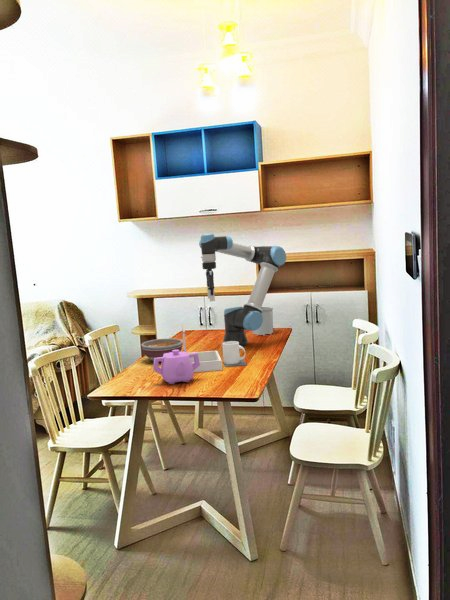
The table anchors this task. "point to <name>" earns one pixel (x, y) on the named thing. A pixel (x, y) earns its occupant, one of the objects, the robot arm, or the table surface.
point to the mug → (232, 352)
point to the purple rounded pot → (176, 366)
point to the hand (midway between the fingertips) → (211, 299)
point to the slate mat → (241, 363)
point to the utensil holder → (266, 321)
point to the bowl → (160, 347)
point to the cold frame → (205, 358)
